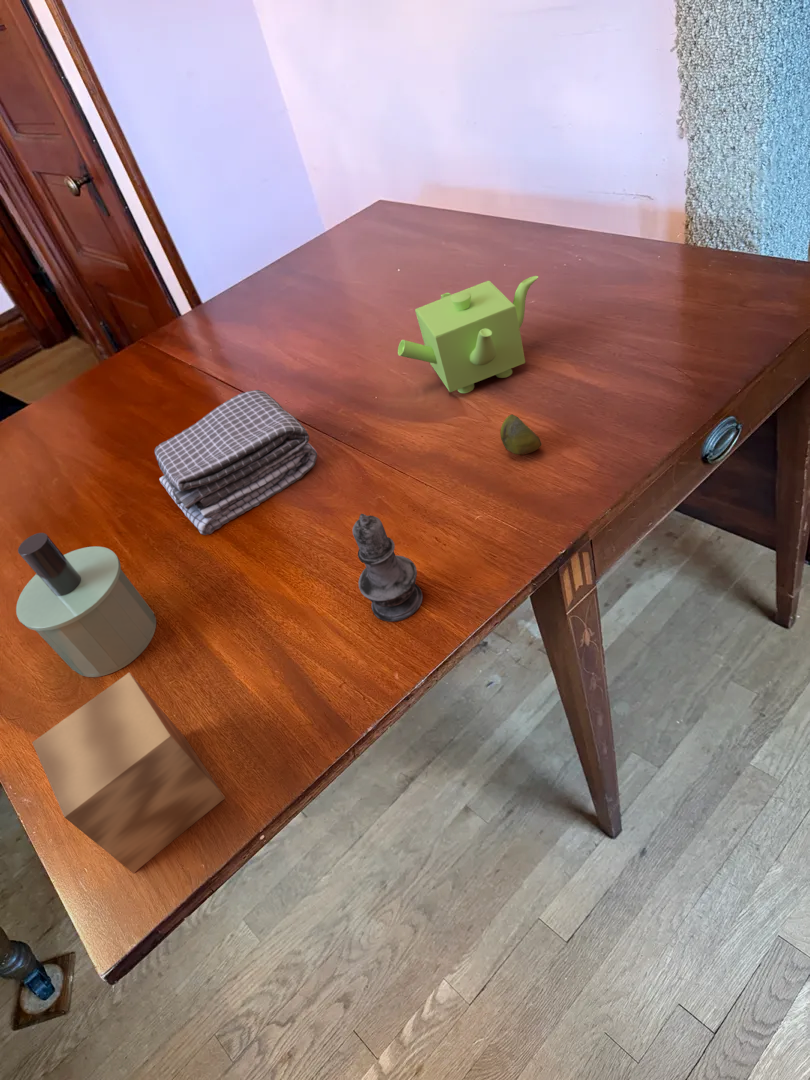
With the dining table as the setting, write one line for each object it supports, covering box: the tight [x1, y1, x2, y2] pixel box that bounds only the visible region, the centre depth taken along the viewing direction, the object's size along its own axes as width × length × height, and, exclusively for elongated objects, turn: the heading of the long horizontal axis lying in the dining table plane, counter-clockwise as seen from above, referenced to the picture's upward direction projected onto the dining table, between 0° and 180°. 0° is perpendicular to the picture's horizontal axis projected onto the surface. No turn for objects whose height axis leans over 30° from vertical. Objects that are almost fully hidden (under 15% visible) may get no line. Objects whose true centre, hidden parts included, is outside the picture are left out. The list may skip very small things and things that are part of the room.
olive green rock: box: [499, 413, 543, 455], centre depth 84 cm, size 4×5×5 cm
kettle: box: [397, 275, 539, 394], centre depth 97 cm, size 15×14×11 cm
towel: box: [154, 389, 318, 536], centre depth 95 cm, size 15×18×8 cm
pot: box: [34, 569, 157, 678], centre depth 79 cm, size 10×10×8 cm
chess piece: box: [352, 513, 424, 623], centre depth 71 cm, size 6×6×12 cm
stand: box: [31, 672, 226, 874], centre depth 62 cm, size 9×9×10 cm
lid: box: [15, 532, 122, 631], centre depth 74 cm, size 11×11×7 cm
